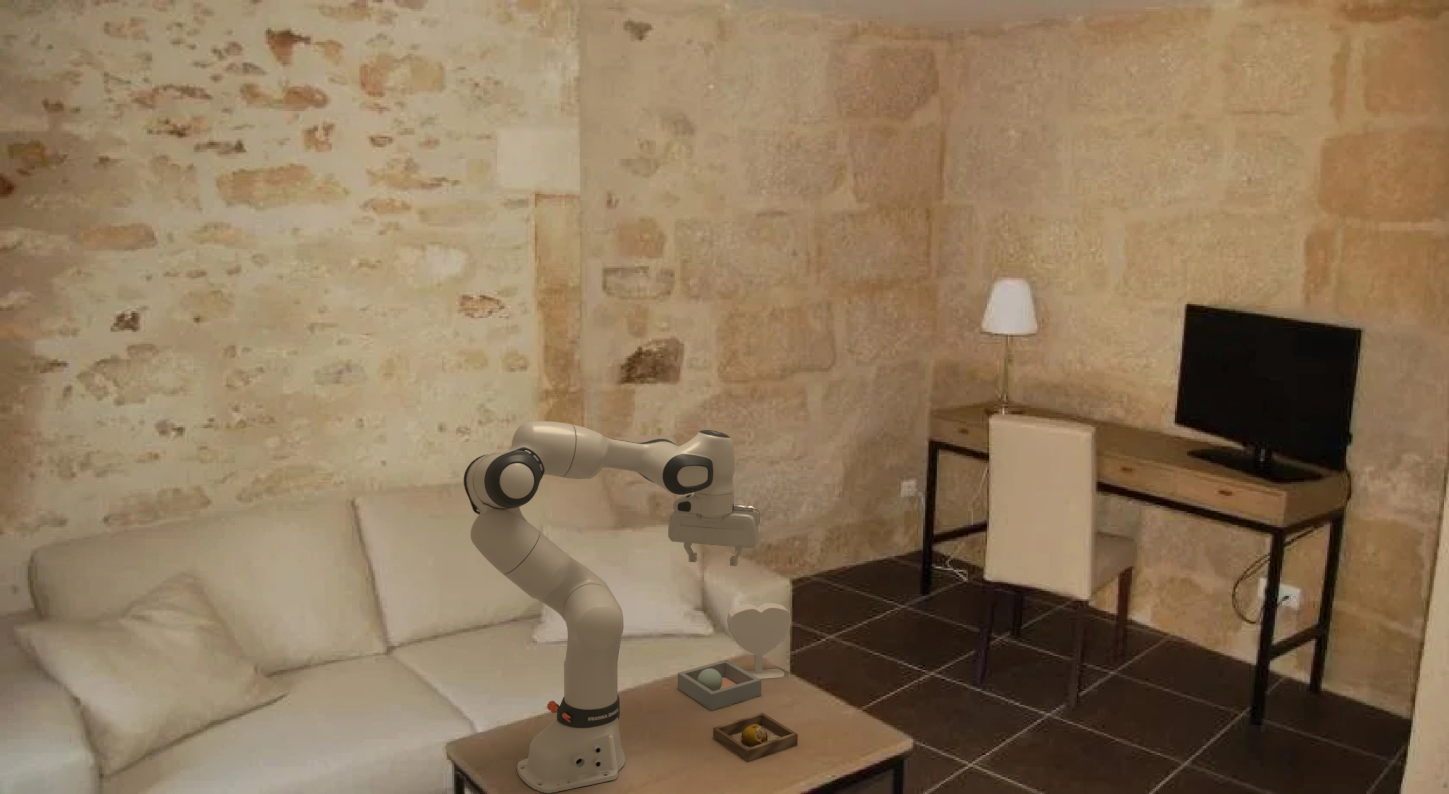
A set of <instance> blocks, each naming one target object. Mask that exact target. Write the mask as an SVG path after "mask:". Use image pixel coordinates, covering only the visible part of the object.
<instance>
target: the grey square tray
mask: <svg viewBox="0 0 1449 794" xmlns="http://www.w3.org/2000/svg"><path fill="white" fill-rule="evenodd" d="M705 669H715V670H716V671H718V672H719V673H720V675H721V677H722V686H721V688H720V689H719V690H716V691H712V690H710V689H709V688H707V687H706V686H704V685H702V684H701V683H699V682H697V679H698V676H699V674H700V673H701V672H702V671H703V670H705ZM747 671H748V670H745V669H743V668H742V667H740V666H738V665H736V664H735V663H733V662H731V661H729V660H727V659H723V660H720V661H718V662H713V663H709V664H705V665H702V666H699V667H695V668H691V669H688V670H684V671H680V672H677V689H678V690H679V691H681V692H683V693H684V694H685V695H686V696H689V697H690V698H692V699H693V700H695V701H696V702H698V703H699V704H701V705H702V704H703V706H704V707H706V708H707V709H709V710H711V711H715V710H718V709H721V707H722V708H725V707H727V706H728V705H729V706H731V705H730V704H732V705H735V704H737V703H738V702H739V703H741V702H740V701H742V702H745V701H748V700H747V699H749V700H751V699H755V698H758V697H757V696H759V697H761V696H762V679H759V678H757V677H755V676H754V675H752V674H750V673H748V672H747ZM734 703H735V704H734ZM739 703H738V704H739ZM729 706H728V707H729Z"/></svg>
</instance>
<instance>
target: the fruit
mask: <svg viewBox="0 0 1449 794" xmlns="http://www.w3.org/2000/svg"><path fill="white" fill-rule="evenodd" d="M740 737H741V738H740V739H741V740H742V742H743V745H746V747H747V746H748V747H750V748H751V747H754V746H757V745H760V744H763V743H766V742H769V741H772V740H775V739H777V738H781V736H779V735H777V734H774V735H768V733H767V730H766V729H765V728H763V726H762V725H760V726H759V725H758V724H752V725H750V726H748V727H746V728H745V729H744V730H743V731H742V733H741V735H740Z"/></svg>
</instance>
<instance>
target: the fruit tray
mask: <svg viewBox="0 0 1449 794" xmlns="http://www.w3.org/2000/svg"><path fill="white" fill-rule="evenodd" d="M752 724H758V725H759V726H761V727H764V729H765V728H766V729H767V730H769V731H771V733H773V734H774V735H779V736H781V738H779V737H777V738H774V740H772V741H769V742H766V743H763V744H760V745H757V746H754V747H751V746H750V747H747V745H746V746H745V744H744V743H743V744H742V743H741V742H739V741H738V740H737V739H735V738H734V737H732V736H733V735H735V734H738V732H739V733H741V732H743V730H744V729H745V728H746V727H748V726H750V725H752ZM712 730H713V731H712V735H713V736H712V738H713V740H714V741H716V742H718V743H719V744H721V746H724V747H725V748H726V749H727V750H730V751H731V752H732V753H733V754H736V756H738V757H740V759H742V760H744V761H745V762H747V763H748V762H751V761H753V760H757V759H759V758H763V757H766V756H768V755H772V754H775V753H777V752H780V751H783V750H786V749H789V748H791V747H792V748H793V747H795V746H798V741H799V740H798V736H799V735H798V733H797V732H795V731H794V730H793V729H790V728H788V727H787V726H786V725H784V724H782V723H781V722H779V721H777V720H775V719H774V718H772V716H771V717H770V716H769V715H767V714H766V713H764V712H760V713H756V714H754V715H750V716H747V717H744V718H741V719H738V720H734V721H731V722H727V723H724V724H722V725H718V726H715V727H713V728H712Z"/></svg>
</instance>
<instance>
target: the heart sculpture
mask: <svg viewBox="0 0 1449 794" xmlns="http://www.w3.org/2000/svg"><path fill="white" fill-rule="evenodd" d="M727 613H728V614H727V619H726V622H727V623H726V624H727V629H728V631H729V633H730V635H731V636H732V639H734V641H735V643H736V644H737V645H738V646H740V647H741V648H742V649H743V650H745V651H747V652H749V654H752V655H754V657H753V662H754V663H753V670H746V671H747V672H748V673H750V674H752V675H754V676H755V677H757V678H759V679H761V680H762V679H772V678H773V679H775V678H776V679H777V678H784V676H785V672H784V671H782V669H779V668H772V669H770V668H769V669H763V657H764V656H765V655H766V654H768V653H770V652H771V651H772V650H774V649H776V648H777V647H778V646H779V645H780V644H781V643H782V642H783V641H784V640H785V639H786V637H787V635H788V634H789V632H790V630H791V624H792V617H791V612H790V611H789V610H788V609H787V608H786V607H785V606H784V605H782V604H779V603H773V602H765V603H763V604H761V605H759V606H756V605H754V604H751V603H747V604H741V605H738V606H736V607H733V608H732V609H730V610H729V611H728V612H727Z"/></svg>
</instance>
